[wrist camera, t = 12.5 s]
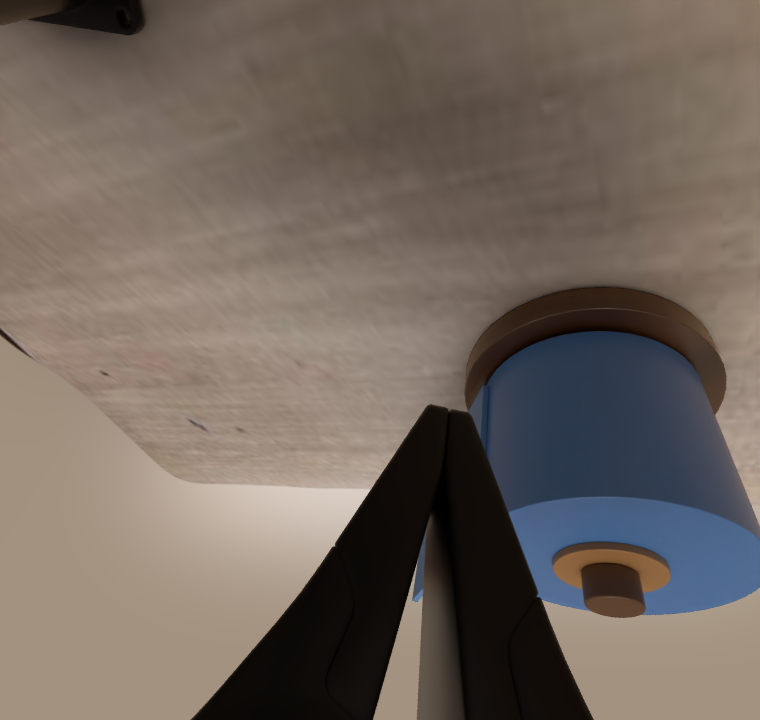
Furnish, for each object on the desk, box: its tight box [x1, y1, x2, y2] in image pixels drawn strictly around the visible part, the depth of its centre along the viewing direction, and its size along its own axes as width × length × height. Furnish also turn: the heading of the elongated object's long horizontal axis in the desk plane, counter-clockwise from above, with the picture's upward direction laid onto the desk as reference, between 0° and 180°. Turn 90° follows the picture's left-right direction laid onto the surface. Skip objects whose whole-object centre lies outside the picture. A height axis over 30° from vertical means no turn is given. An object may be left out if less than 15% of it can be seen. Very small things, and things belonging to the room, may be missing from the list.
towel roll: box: [412, 331, 760, 618], centre depth 21 cm, size 10×15×10 cm
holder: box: [465, 288, 726, 414], centre depth 23 cm, size 12×12×2 cm
